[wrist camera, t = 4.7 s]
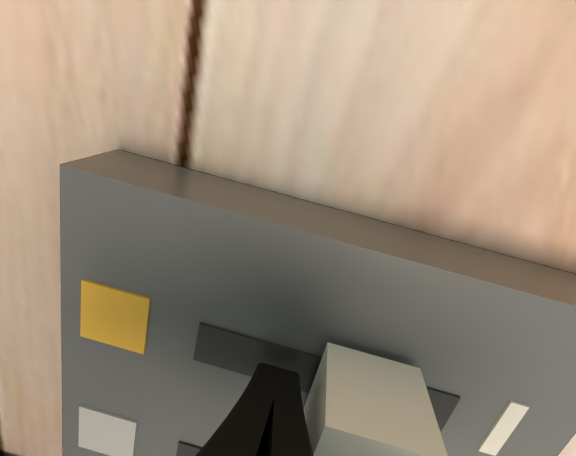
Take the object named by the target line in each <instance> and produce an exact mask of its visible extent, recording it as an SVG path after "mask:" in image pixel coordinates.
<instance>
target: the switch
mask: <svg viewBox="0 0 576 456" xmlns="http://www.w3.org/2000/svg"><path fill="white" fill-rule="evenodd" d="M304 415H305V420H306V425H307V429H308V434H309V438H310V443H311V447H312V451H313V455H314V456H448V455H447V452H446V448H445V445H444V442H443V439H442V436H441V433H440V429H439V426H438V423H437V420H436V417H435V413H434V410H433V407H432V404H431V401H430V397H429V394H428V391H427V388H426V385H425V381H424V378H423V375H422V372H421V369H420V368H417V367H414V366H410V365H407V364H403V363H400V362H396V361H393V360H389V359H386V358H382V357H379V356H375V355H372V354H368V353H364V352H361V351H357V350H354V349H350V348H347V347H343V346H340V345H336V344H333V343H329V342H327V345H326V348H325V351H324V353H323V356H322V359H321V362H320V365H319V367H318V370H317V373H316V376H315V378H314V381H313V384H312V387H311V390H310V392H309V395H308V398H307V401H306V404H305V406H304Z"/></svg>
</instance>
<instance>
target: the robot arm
mask: <svg viewBox="0 0 576 456" xmlns="http://www.w3.org/2000/svg"><path fill="white" fill-rule="evenodd" d="M195 456H314V455H313V451H312V447H311V443H310V438H309V434H308V429H307V425H306V420H305V415H304V409H303V403H302V396H301V387H300V376H299V374H298V373H297V372H294V371H290V370H287V369H283V368H280V367H276V366H273V365H269V364H266V363H262V362H261V363H259V364H257V367H256V370H255V372H254V374H253V376H252V378H251V380H250V382H249V384H248V385H247V387H246V389H245V390H244V392H243V394H242V395H241V397H240V398H239V400H238V401H237V403H236V404H235V406H234V407H233V408H232V410H231V411H230V413H229V414H228V416H227V417H226V418H225V420H224V421H223V422H222V424H221V425H220V426H219V427H218V429H217V430H216V431H215V433H214V434H213V435H212V436H211V438H210V439H209V440H208V441H207V443H206V444H205V445H204V446H203V447H202V449H201V450H200V451H199V452H198V453H197V454H196V455H195Z"/></svg>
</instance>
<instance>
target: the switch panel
mask: <svg viewBox="0 0 576 456" xmlns="http://www.w3.org/2000/svg"><path fill="white" fill-rule="evenodd" d="M60 238H61V345H62V452H63V456H195V455H196V454H197V453H198V452H199V451H200V450H201V449H202V447H203V446H204V445H205V444H206V443H207V441H208V440H209V439H210V438H211V436H212V435H213V434H214V433H215V431H216V430H217V429H218V427H219V426H220V425H221V424H222V422H223V421H224V420H225V418H226V417H227V416H228V414H229V413H230V411H231V410H232V408H233V407H234V406H235V404H236V403H237V401H238V400H239V398H240V397H241V395H242V394H243V392H244V390H245V389H246V387H247V385H248V384H249V382H250V380H251V378H252V376H253V374H254V372H255V370H256V367H257V364H259V363H261V362H262V363H266V364H269V365H273V366H276V367H280V368H283V369H287V370H290V371H294V372H297V373H298V374H299V376H300V387H301V396H302V403H303V409H304V406H305V404H306V401H307V398H308V395H309V392H310V390H311V387H312V384H313V381H314V378H315V376H316V373H317V370H318V367H319V365H320V362H321V359H322V356H323V353H324V351H325V348H326V345H327V342H329V343H333V344H336V345H340V346H343V347H347V348H350V349H354V350H357V351H361V352H364V353H368V354H372V355H375V356H379V357H382V358H386V359H389V360H393V361H396V362H400V363H403V364H407V365H410V366H414V367H417V368H420V369H421V372H422V375H423V378H424V381H425V385H426V388H427V391H428V394H429V397H430V401H431V404H432V407H433V410H434V413H435V417H436V420H437V423H438V426H439V429H440V433H441V436H442V439H443V442H444V445H445V448H446V452H447V455H448V456H558V455H559V454H560V452H561V451H562V450H563V449H564V447H565V446H566V445H567V444H568V442H569V441H570V440H571V439H572V437H573V436H574V435H575V434H576V274H573V273H569V272H566V271H562V270H558V269H555V268H551V267H547V266H544V265H540V264H536V263H533V262H529V261H525V260H522V259H518V258H514V257H511V256H507V255H503V254H500V253H496V252H492V251H489V250H485V249H481V248H478V247H474V246H470V245H467V244H463V243H459V242H455V241H452V240H448V239H444V238H441V237H437V236H433V235H430V234H426V233H422V232H419V231H415V230H411V229H408V228H404V227H400V226H397V225H393V224H389V223H386V222H382V221H378V220H375V219H371V218H367V217H364V216H360V215H356V214H353V213H349V212H345V211H342V210H338V209H334V208H331V207H327V206H323V205H320V204H316V203H312V202H309V201H305V200H301V199H298V198H294V197H290V196H286V195H283V194H279V193H275V192H272V191H268V190H264V189H261V188H257V187H253V186H250V185H246V184H242V183H239V182H235V181H231V180H228V179H224V178H220V177H217V176H213V175H209V174H206V173H202V172H198V171H195V170H191V169H187V168H184V167H180V166H176V165H173V164H169V163H165V162H162V161H158V160H154V159H151V158H147V157H143V156H140V155H136V154H132V153H129V152H125V151H121V150H114V151H110V152H106V153H102V154H98V155H94V156H90V157H87V158H83V159H79V160H75V161H71V162H67V163H63V164H60Z"/></svg>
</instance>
